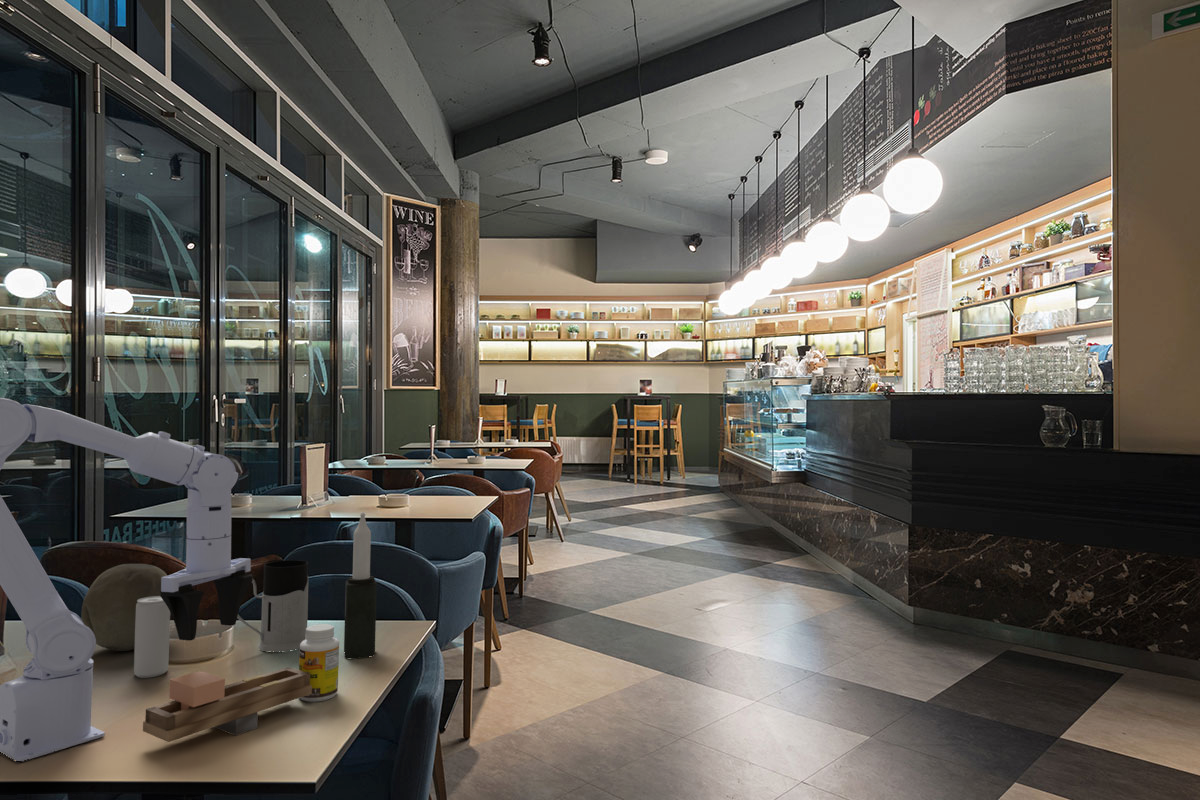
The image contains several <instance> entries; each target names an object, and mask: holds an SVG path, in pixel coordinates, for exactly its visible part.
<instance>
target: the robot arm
mask: <svg viewBox="0 0 1200 800" xmlns="http://www.w3.org/2000/svg"><path fill="white" fill-rule="evenodd" d="M171 435H172V434H170V433H168V432H166V431H158V432H157V433H154V432H152V431H151V432H150V431H149V432H145V433H143V434H141V435H139V436H132V435H129V434H126V433H123V432H120V431H118V430H115V429H113V428H110V427H106V426H104V425H101V424H99V423H95V422H92V421H90V420H88V419H84V418H82V417H79V416H76V415H73V414H71V413H67V412H65V411H63V410H58V409H53V408H49V407H44V406H41V405H35V404H29V403H24V404H21V403H20V402H18V401H16V400H12V399H10V398H4V397H0V471H1V470H2V468H3V466H4V465H5V463H6V459H7V458H8V457H9V456H11V454H12V453H14V452H15V451H16V450H17V449H18V448H19V447H20V446H21V445H22V444H23V443H25V442H26V441H27V442H30V443H43V442H44V443H45V442H51V441H52V442H53V441H61V442H65V443H68V444H72V445H75V446H80V447H84V448H86V449H90V450H94V451H97V452H100V453H104V454H109V455H111V456H115V457H118V458H121V459H124V460H125V461H126V464H127V465H128V468H129V469H130V471H131V472H132V473H136V474H138V475H143V476H145V477H146V476H147V477H149V478H153V479H155V480H159V481H163V482H166V483H170V484H172V485H176V486H183V485H184V486H185V488H186V489H187V506H186V540H185V541H186V547H185V548H186V549H185V553H186V557H185V560H186V561H185V568H184V569H181V570H179V571H177V572H174V573H172V574H169V575H167V576H165V577H162V578H161V591H160V597H161V598H162V599H163V601H164V602H165V604H166V605H167V607H168V608H169V610H170V616H171V617H172V619H173V621H174V624H175V625H174V626H175V628H176V632H177V635H178V636H177V637H178V639H179V640H180V641H187V642H189V641H190V642H191V641H193V640H194V641H195V639H196V635H197V630H198V629H197V628H198V627H197V625H198V615H199V608H200V604H201V602H202V598H203V596H204V593H205V591H203V590H195V588H194V587H193V586H196V585H200V584H204V583H207V582H211V581H213V583H214V586H215V589H216V594H217V599H218V611H219V612H218V614H219V615H218V616H219V621H220V622H219V623H220V625H221V626H230V627H231V626H233V627H234V626H235V625H236V623H237V621H238V618H237V616H238V614H239V613H240V612H239V611H240V609H241V605H242V602H243V599H244V597H245V595H246V592H247V591H248V589H249V587H250V585H251V584H252V581H253V579H254V575H253V573H249V572H251V571H252V569H251V568H252V567H251V564H252V563H251V561H252V559H251V558H243V557H239V558H235V559H232V489H233V487H234V486H235V485H236V483H237V481H238V479H239V472H237V471H236V466H235V464H234V463H233V461H231V459H230V458H229V457H227V456H225V455H223V454H219V453H217V454H216V453H211V452H209V451H205V449H206V447H205V446H203V445H200V444H196V445H195V446H192V445H189V444H188V443H184V442H181V441H178V440H176V439H171ZM0 586H1V588H2V590H3V592H4V593H5V595H6V597H7V598H8V600H9V601H10V603H11V605H12V606H13V608H14V609H15V612H16V613H17V615H18V616H19V618H20V619H21V621H22V624H23V625H24V627H25V645H26V648H27V649H28V651H29V652H30V653H31V654H32V656H33V658H32V659H31V660H30V661H29V662H28V664H27V665H26V666H25V667H24V668H23V673H22V675H21V676H19V677H17V678H15V679H12V680H9V681H5V682H3V683H1V684H0V752H2V753H4V754H5V755H7V756H9V757H10V759H11V758H12V759H14V760H16V761H22V762H25V761H24V760H26V761H28V760H27V759H29V760H31V759H35V758H38V757H41V756H44V755H47V754H51V753H55V752H58V751H61V750H63V749H64V750H65V749H67V748H71V747H73V746H77V745H79V744H83V743H84V744H85V743H87V742H90V741H92V740H96V739H99V738H102V737H104V736H105V734H106V732H105V731H103V730H101V729H99V728H96V727H95V726H92V705H93V701H92V700H93V679H94V659H92V657H93V655H94V653H95V651H96V645H97V644H96V639H95V635H94V633H93V632H92V631H91V629H90V628H89V627H87V626H85V625H84V623H83V621H82V618H81V617H80V616H79V615H78V614H77V613H75V612H73V611H71V610H69V608H68V607H67V605H66V604H65V602H64V601H63V599H62V597H61V596H60V594H59V592H58V590H56V589H57V588H55V585H54V584H53V582H52V581H51V579H50V577H49V576H48V573H47V572H46V571H45V569H44V567H43V566H42V563H41V561H40V560H39V559H38V557H37V555H36V553H35V552H34V550H33V548H32V546H31V545H30V543H29V542H28V540H27V538H26V537H25V535H24V533H23V531H22V529H21V528H20V526H19V524H18V523H17V521H16V519H15V518H14V515H13V514H12V512H11V511H10V509H9V507H8V506H7V504H6V502H5V500H4V499H3V497H2V495H1V494H0ZM54 751H55V752H54ZM2 753H1V754H2ZM4 754H3V755H4ZM5 755H4V756H5ZM7 756H6V757H7ZM9 757H8V758H9ZM12 759H11V760H12ZM14 760H13V761H14ZM16 761H15V762H16Z"/></svg>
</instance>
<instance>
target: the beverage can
mask: <svg viewBox="0 0 1200 800" xmlns="http://www.w3.org/2000/svg"><path fill="white" fill-rule="evenodd" d="M137 602H138V603H137V605H136V620H135V649H134V652H133V653H134V655H133V657H134V658H133V659H134V661H133V673H134V675H135V676H136V678H137V677H138V678H142V679H150V678H155V677H159V676H161V675H164V674H165V673H166V672H167V671H168V669H169V660H170V658H169V656H170V654H169V652H170V631H171V630H170V627H171V626H170V625H171V612H170V610H169V608H168V607H167V605H166V604H165V602H164V601H163V599H162V598H161V597H160V596H152V597H145V598H141V599H139V600H137Z"/></svg>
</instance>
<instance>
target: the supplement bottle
mask: <svg viewBox="0 0 1200 800" xmlns="http://www.w3.org/2000/svg"><path fill="white" fill-rule="evenodd" d="M334 631H335V627H334V625H333V624H332V625H331V624H327V623H326V624H325V623H324V624H323V623H322V624H320V623H319V624H314V625H310V626H307V628H306V635H305V636H306V639H305V640H304V641H302V642H301V644H300V649H299V650H298V651H299V655H298V656H299V659H298V660H299V661H298V670H300V671H304V672H307V673H310V685H312V694H310V695H307V696H304V697H301V698H299V699H300V700H302V701H305V702H309V703H310V702H312V703H313V702H314V703H316V702H323V701H327V700H330V699H332V698H334V697H335V696H336V695H338V694H337V693H338V691H339V688H338V687H339V660H340V659H339V658H340V657H339V656H340V641H339V639H338V638H336V637H335V632H334Z"/></svg>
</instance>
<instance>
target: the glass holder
mask: <svg viewBox="0 0 1200 800" xmlns="http://www.w3.org/2000/svg"><path fill="white" fill-rule="evenodd" d="M308 571H309V562H308V561H306V560H303V559H302V560H299V559H288V560H287V559H286V560H284V559H283V560H275V561H269V562H266V563H264V565H263V588H262V589H263V591H262V594H261V595H258V594H257V592H258V591H257V583H256V581H255V579H254V578H253V581H252V582H251V584H252V586H253V587H252V588H253V595H254V597H255V598H257V599H261V619H260V620H261V625H260V626H261V627H260V630H258V629H257V628H255V626H253V625H251V624H250V623H248V622H246V621H245V620H244V619H243V618H242V617H241V616H240V615H239V613H238V616H237V620H239V621H240V622H241V623H242V624H244V625H245V626H246V627H248V628H250V629H251V630H253V631H254V632H256V633H257V634H258V635H259V636H260V637H259V638H260V639H259V640H260V642H259V644H258V645H257V649H258V648H259V649H260V650H263V651H271V652H273V651H274V652H279V651H280V652H282V651H290V650H295V649H299V650H300V644H301V642H302V641H304V640H305V639H306V636H305V635H306V628H307V627H308V616H309V615H308V612H309V611H308V610H309V608H308V607H309V605H308V604H309V575H308V574H309V573H308ZM260 650H259V651H260ZM295 651H296V650H295ZM290 652H291V651H290ZM282 653H283V652H282Z"/></svg>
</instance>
